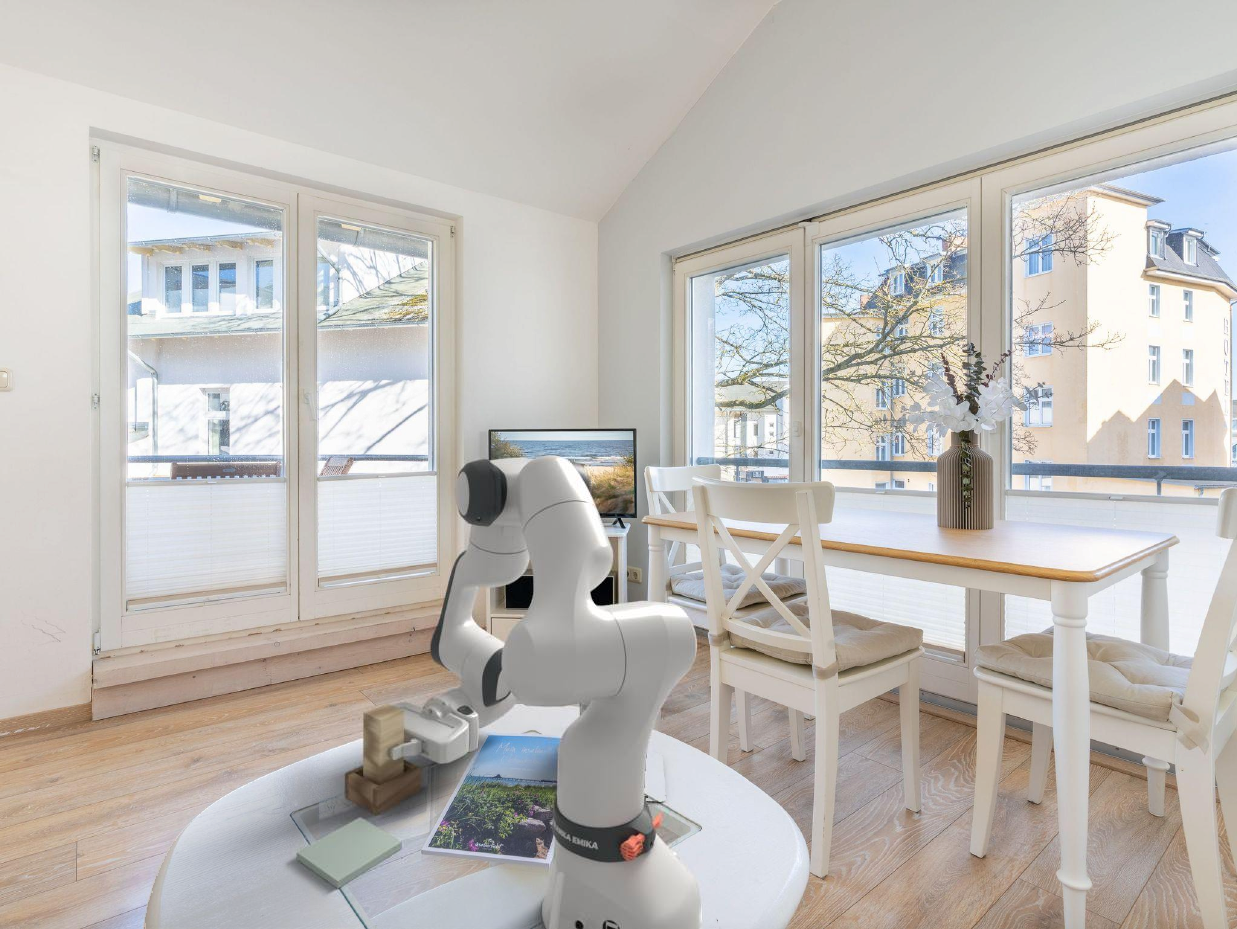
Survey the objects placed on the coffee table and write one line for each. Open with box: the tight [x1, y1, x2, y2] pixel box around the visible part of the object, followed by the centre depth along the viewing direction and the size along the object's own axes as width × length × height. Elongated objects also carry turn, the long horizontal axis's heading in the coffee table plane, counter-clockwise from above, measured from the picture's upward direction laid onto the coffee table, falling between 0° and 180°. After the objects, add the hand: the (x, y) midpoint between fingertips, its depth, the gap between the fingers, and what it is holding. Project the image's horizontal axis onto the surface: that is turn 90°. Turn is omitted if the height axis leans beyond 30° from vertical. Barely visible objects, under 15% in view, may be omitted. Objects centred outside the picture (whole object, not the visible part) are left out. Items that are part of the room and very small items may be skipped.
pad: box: [296, 816, 403, 889], centre depth 91 cm, size 10×10×1 cm
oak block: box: [362, 703, 405, 786], centre depth 105 cm, size 4×4×14 cm
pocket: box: [344, 759, 422, 816], centre depth 106 cm, size 8×8×4 cm
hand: (378, 748), depth 105 cm, fingers closed on oak block, 4 cm apart
